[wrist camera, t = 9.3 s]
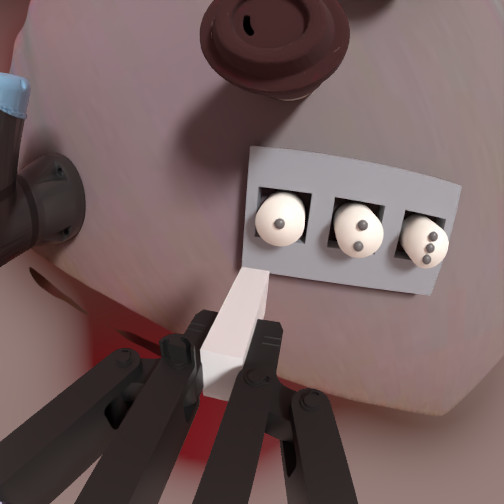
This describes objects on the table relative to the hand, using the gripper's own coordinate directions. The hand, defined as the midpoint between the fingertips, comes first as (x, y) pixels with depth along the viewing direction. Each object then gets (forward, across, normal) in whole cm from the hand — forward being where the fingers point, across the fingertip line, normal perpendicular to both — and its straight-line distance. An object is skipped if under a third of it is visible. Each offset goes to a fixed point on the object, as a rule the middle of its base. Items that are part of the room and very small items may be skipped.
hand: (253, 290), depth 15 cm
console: (+18, +8, 0) cm, 20 cm away
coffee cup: (+18, -1, +16) cm, 24 cm away
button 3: (+17, +16, 0) cm, 24 cm away
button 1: (+17, 0, 0) cm, 17 cm away
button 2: (+17, +8, 0) cm, 19 cm away
